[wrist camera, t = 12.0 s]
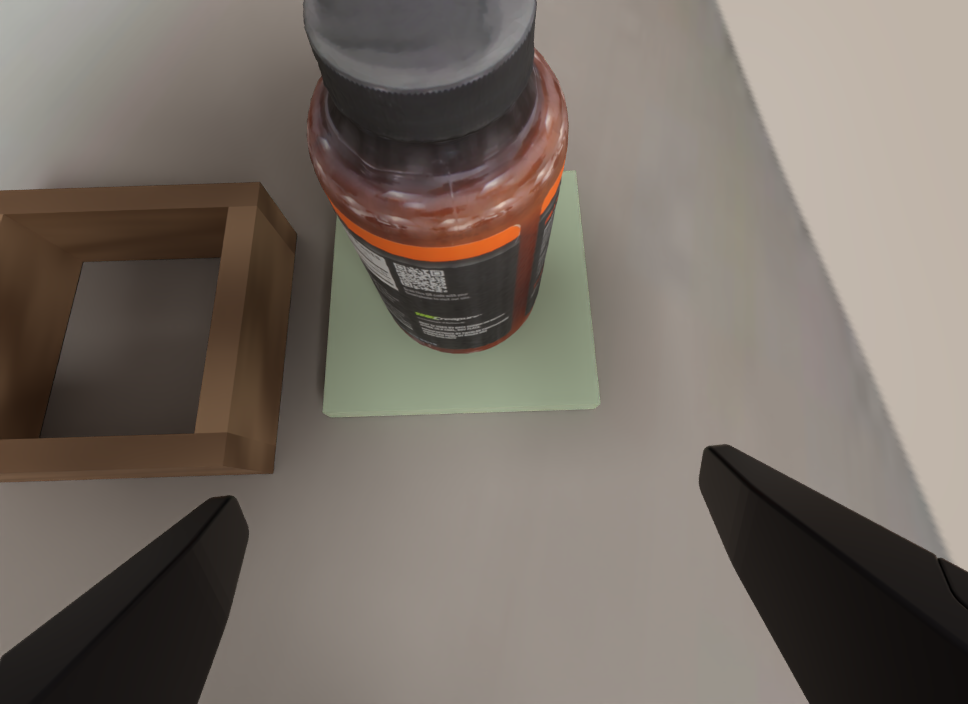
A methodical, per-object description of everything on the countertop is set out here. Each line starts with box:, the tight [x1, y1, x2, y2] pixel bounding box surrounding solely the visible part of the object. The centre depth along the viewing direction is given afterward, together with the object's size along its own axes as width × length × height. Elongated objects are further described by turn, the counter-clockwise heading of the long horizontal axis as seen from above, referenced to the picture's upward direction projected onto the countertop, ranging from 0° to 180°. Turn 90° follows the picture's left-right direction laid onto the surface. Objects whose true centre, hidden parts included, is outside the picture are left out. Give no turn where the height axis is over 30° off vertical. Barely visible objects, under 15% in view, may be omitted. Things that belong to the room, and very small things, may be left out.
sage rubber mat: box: [323, 171, 600, 418], centre depth 19 cm, size 10×10×1 cm
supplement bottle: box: [303, 0, 569, 354], centre depth 13 cm, size 6×6×11 cm
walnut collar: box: [0, 182, 297, 482], centre depth 18 cm, size 10×10×4 cm
